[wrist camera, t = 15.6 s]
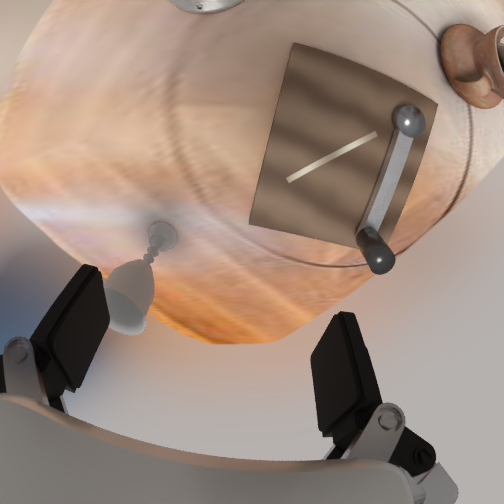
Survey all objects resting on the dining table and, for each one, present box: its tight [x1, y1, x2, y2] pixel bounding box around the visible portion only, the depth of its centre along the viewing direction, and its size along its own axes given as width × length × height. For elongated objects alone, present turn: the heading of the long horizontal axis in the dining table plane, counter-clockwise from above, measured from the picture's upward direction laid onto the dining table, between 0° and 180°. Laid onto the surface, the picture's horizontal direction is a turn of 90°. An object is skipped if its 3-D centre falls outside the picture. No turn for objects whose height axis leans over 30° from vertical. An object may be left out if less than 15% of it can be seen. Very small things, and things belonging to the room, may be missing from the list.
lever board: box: [249, 43, 438, 249], centre depth 34 cm, size 26×22×2 cm
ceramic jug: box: [440, 24, 504, 109], centre depth 18 cm, size 18×14×14 cm
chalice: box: [103, 222, 177, 335], centre depth 35 cm, size 7×7×18 cm
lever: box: [355, 105, 426, 275], centre depth 30 cm, size 22×4×8 cm, turn 167°
